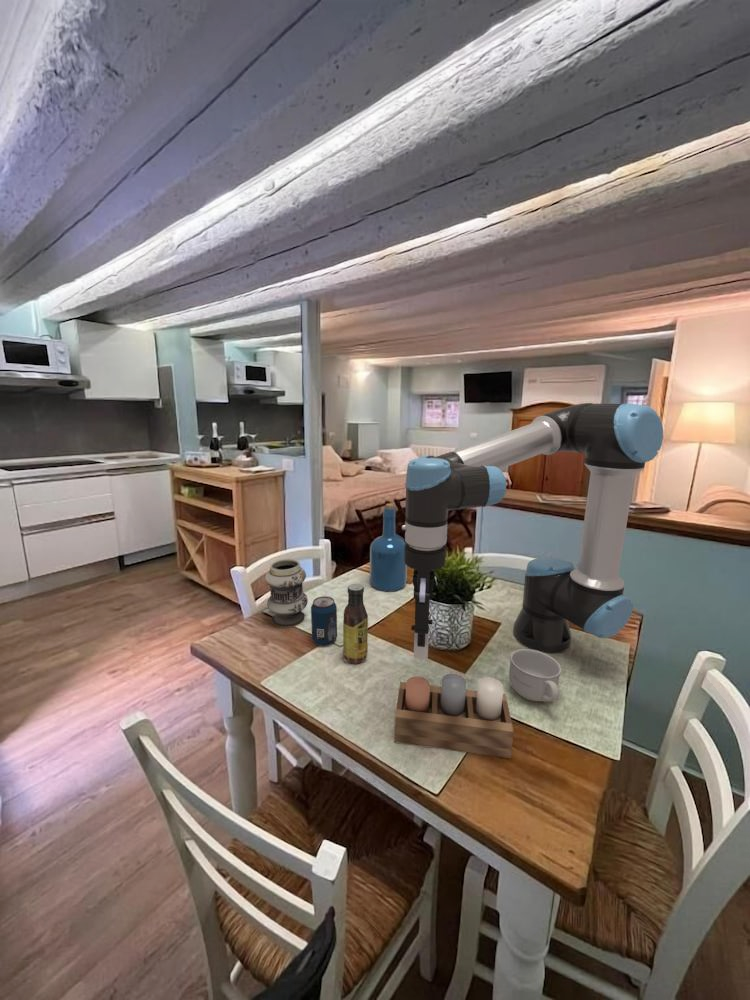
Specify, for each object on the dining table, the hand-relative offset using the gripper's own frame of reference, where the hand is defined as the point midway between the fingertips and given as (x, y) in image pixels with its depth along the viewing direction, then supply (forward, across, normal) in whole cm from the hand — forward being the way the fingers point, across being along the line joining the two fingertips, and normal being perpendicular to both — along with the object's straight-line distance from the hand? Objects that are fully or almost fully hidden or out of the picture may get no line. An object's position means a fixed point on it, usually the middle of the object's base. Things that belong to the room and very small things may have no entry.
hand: (420, 656), depth 80 cm
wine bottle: (+17, -64, -15) cm, 68 cm away
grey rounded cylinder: (+11, 0, +7) cm, 13 cm away
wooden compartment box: (+16, 0, +7) cm, 17 cm away
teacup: (+17, -13, +26) cm, 33 cm away
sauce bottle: (+16, -20, -17) cm, 31 cm away
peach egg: (+12, 0, 0) cm, 12 cm away
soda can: (+16, -26, -27) cm, 41 cm away
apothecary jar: (+16, -35, -42) cm, 57 cm away
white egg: (+11, 0, +14) cm, 17 cm away
